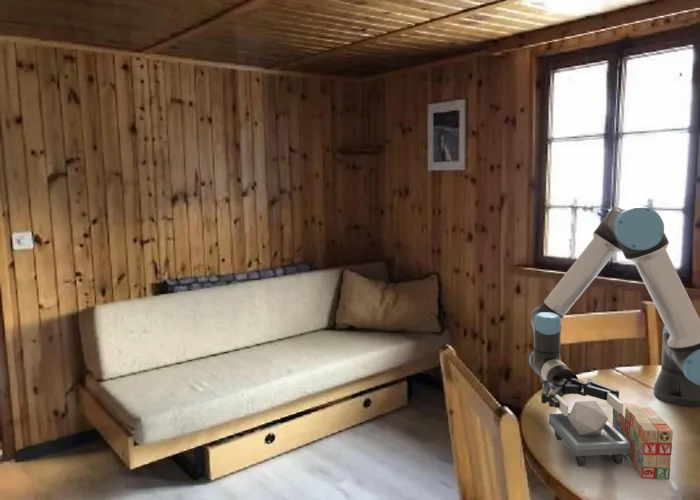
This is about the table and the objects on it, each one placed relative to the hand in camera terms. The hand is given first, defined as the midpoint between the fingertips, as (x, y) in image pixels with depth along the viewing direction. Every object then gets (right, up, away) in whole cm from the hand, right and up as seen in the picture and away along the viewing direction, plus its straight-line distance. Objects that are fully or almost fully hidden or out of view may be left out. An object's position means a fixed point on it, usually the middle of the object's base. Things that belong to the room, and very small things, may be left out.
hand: (594, 409), depth 136 cm
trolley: (0, -12, +5) cm, 13 cm away
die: (0, -7, +4) cm, 8 cm away
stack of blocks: (+12, -12, +2) cm, 17 cm away
